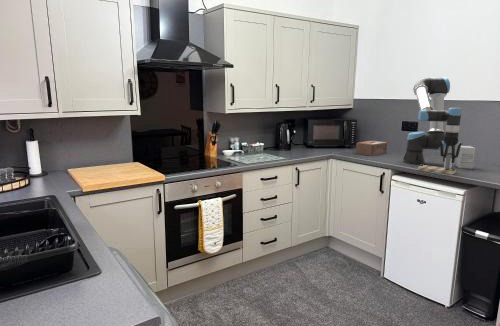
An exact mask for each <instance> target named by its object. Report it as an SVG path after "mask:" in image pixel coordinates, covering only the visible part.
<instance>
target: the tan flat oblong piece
mask: <svg viewBox="0 0 500 326" xmlns="http://www.w3.org/2000/svg"><path fill="white" fill-rule="evenodd" d="M417 171H422V172H423V171H424V172H432V173H437V174H444V175H445V174H446V175H454V174H456V173H457V169H456V167H452V168H450V170H447V169H445V167H440V166H435V165H433V166H432V165H424V164H418V167H417Z"/></svg>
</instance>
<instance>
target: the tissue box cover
mask: <svg viewBox="0 0 500 326" xmlns="http://www.w3.org/2000/svg"><path fill="white" fill-rule="evenodd" d="M387 151H388V142H387V141H379V140H378V141H377V140H368V141H360V142H356V148H355V154H356V155H361V154H362V156H367V155H368V156H369V157H372V156H373V157H374V156H379V155H384V154H387Z"/></svg>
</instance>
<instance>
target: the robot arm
mask: <svg viewBox="0 0 500 326" xmlns="http://www.w3.org/2000/svg"><path fill="white" fill-rule="evenodd" d="M412 89H413V93H414V95H415V96H416V99H417V103H418V106H419V111H418V115H417V116H418V117H417V119H418V121H420V122H429V130H427V131H412V132H409V133H408V134H407V138H406V140H407V141H406V151H405V154H404V156H403V158H402V162H403V163H405V164H410V165H411V164H412V165H420V164H423V165H424V164H425V161H426V159H425V156H424V150H432V151H433V150H435V151H438V150H439V151H440V155H439V156H441V157H442V158H443V159H442V162H443V168H445V164H446V156H447V154H446V153H448V152H449V147H450V148H451V152H452V158H451V159H450V167H449V168H450V169H453V164H454V163H455V161H456V160H455V159H457V157H458V156H459V152H460V148H461V146H463V145H464V143H463V142H461V141H459V133H460V125H461V120H462V119H461V117H462V108H461V107H449V108H448V109H447V110H446V109H445V107H444V106H445V97H446V96H447V94H448V93H450V90H451V82H450V79H449V78H448V77H442V76H440V77H439V76H437V77H435V76H434V77H426V76H425V77H422V78H420V79H419V80H417V81H416V82H415V84H414V86H413V88H412ZM445 122H446V125H445V130H444V123H445ZM426 132H427V133H426ZM456 145H457V149H456Z"/></svg>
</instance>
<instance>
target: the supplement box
mask: <svg viewBox="0 0 500 326" xmlns="http://www.w3.org/2000/svg"><path fill="white" fill-rule="evenodd" d="M475 156H476V147H473V146H472V145H462V146H461V148H460V152H459V156H458V157H457V158H455V159H456V160H455V166H456V167H457V168H459V169H471V170H472V169H474V165H475V164H474V162H475Z"/></svg>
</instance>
